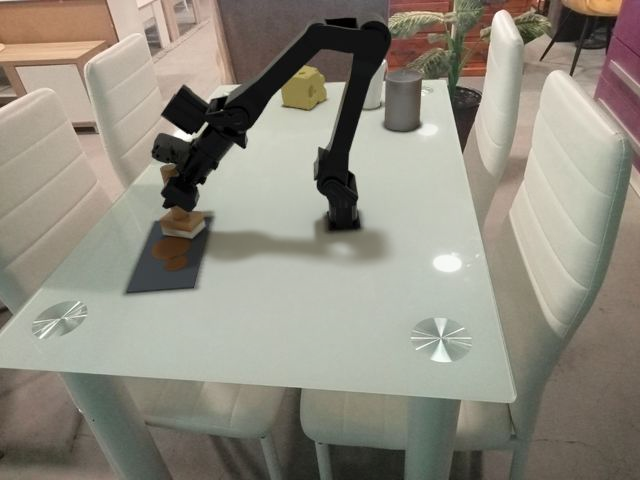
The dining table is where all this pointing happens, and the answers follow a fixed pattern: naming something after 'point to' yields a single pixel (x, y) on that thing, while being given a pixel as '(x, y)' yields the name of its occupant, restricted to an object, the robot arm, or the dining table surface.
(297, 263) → the dining table surface
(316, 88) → the cheese
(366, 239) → the dining table surface
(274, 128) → the dining table surface
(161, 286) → the stain mat
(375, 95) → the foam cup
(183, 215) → the scrub brush
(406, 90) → the pillar candle
